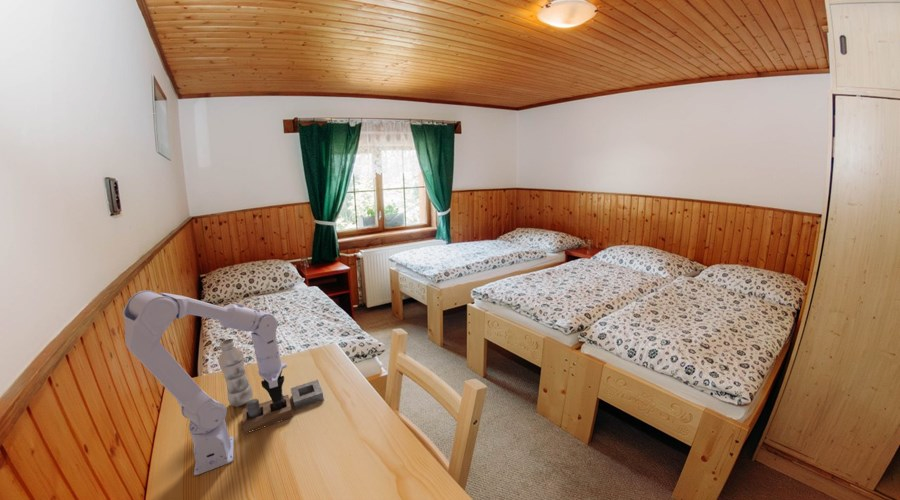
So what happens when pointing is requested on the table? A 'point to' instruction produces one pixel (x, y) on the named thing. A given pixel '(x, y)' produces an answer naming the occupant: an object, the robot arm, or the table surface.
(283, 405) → the shiny steel cylinder
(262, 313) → the robot arm
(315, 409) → the table surface
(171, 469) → the table surface
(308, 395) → the socket block
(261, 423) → the rack
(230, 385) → the plastic bottle
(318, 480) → the table surface
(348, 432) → the table surface
